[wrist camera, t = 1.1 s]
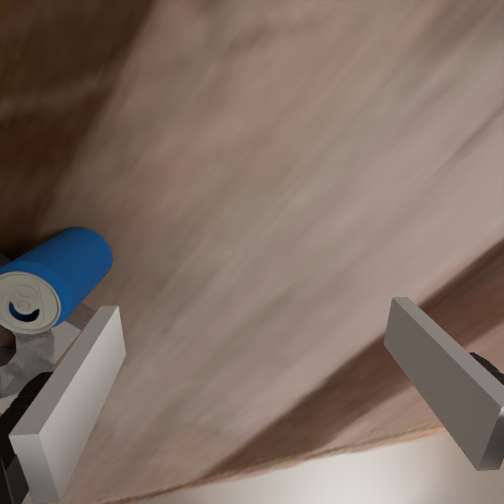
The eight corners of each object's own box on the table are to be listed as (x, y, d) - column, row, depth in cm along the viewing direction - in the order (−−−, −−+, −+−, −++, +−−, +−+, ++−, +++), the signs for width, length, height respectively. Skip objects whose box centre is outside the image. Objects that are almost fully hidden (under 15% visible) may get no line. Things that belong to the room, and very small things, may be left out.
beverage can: (52, 269, 37) (-25, 327, 26) (60, 217, 35) (-19, 256, 24) (109, 284, 38) (59, 346, 27) (120, 235, 36) (71, 280, 25)
